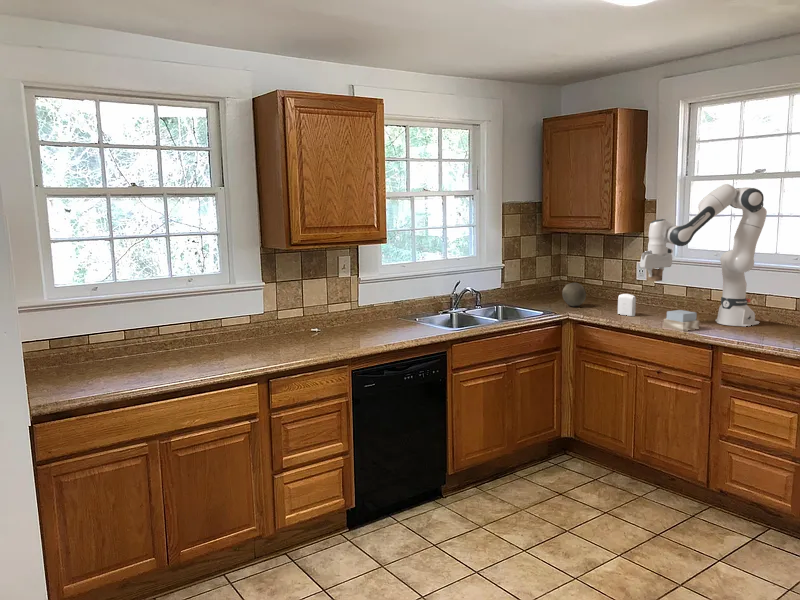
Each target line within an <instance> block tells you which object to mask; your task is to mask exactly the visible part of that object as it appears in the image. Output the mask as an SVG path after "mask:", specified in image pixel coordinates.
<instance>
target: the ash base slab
mask: <svg viewBox="0 0 800 600" xmlns="http://www.w3.org/2000/svg"><path fill="white" fill-rule="evenodd" d="M663 327H666V328H665V329H667V328H672V329H676V330H675V331H677V330H679V331H678V332H682V331H684V332H689V331H688V330H691V331H696V330H695V329H700V320H699V319H696V321H688V322H679V321H674V320H669V319H666V318H663V325H662V328H663ZM672 329H671V330H672Z"/></svg>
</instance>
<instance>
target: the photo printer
mask: <svg viewBox="0 0 800 600" xmlns="http://www.w3.org/2000/svg"><path fill="white" fill-rule="evenodd" d="M636 303H637V299H636V296H635V295H633V294H630V293H622V294H619V295H618V298H617V315H618V314H620V315H619V316H626V315H627V317H635V316H636V306H637V304H636Z"/></svg>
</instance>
